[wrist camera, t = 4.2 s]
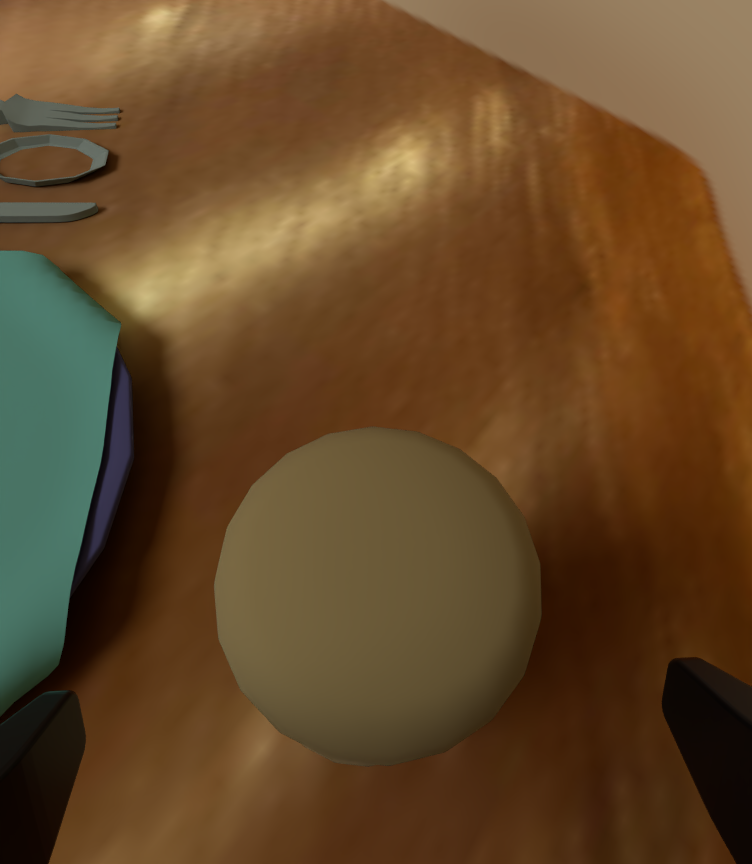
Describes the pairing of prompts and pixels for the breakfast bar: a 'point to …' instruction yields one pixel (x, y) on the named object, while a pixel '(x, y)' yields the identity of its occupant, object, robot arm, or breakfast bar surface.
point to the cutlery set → (53, 416)
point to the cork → (378, 596)
